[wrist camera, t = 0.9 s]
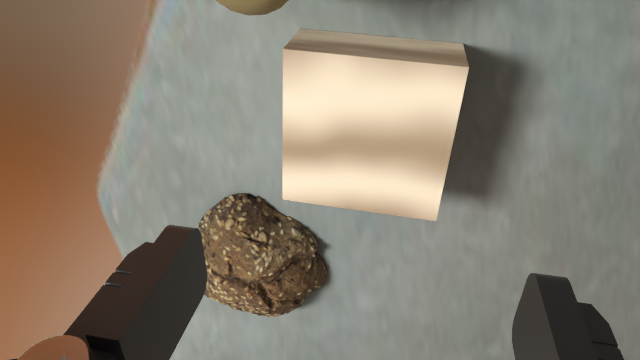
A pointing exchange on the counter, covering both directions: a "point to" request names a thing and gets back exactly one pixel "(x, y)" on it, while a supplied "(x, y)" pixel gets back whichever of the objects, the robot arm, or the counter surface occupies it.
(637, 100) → the counter surface
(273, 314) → the bread roll
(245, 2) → the olive knobbed peg
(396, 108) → the ash block
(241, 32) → the counter surface
